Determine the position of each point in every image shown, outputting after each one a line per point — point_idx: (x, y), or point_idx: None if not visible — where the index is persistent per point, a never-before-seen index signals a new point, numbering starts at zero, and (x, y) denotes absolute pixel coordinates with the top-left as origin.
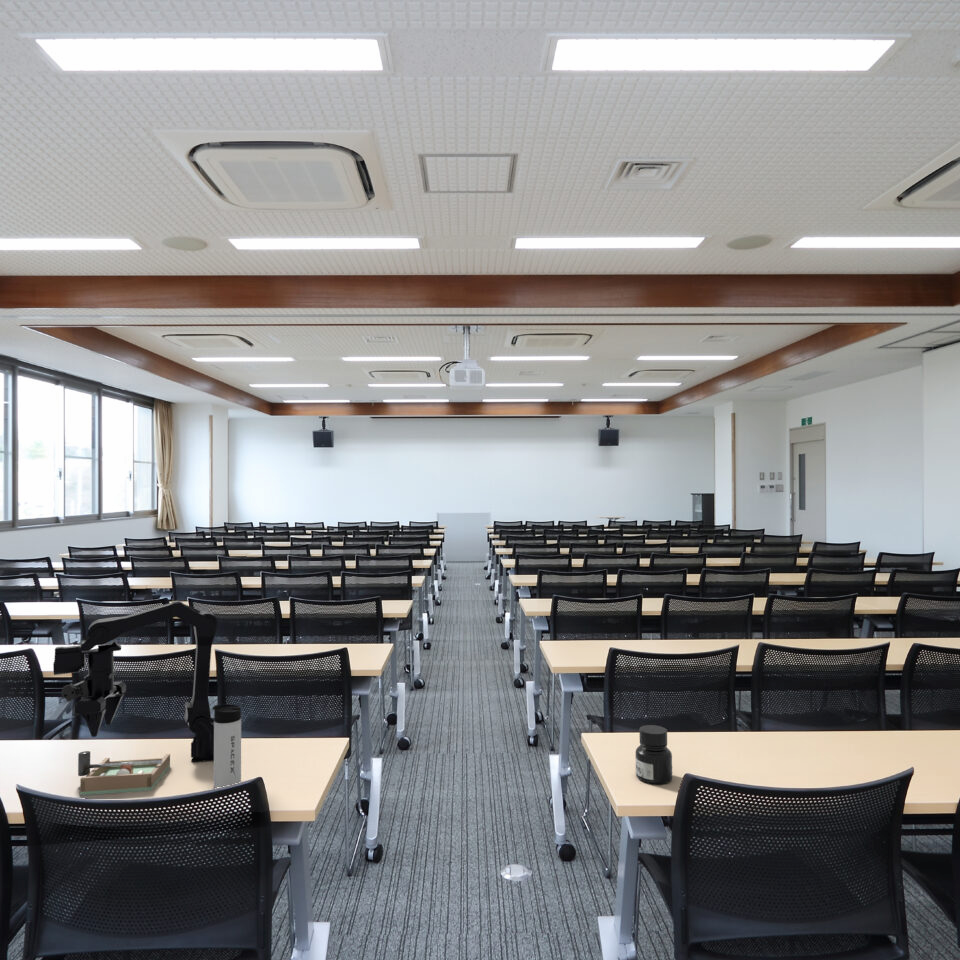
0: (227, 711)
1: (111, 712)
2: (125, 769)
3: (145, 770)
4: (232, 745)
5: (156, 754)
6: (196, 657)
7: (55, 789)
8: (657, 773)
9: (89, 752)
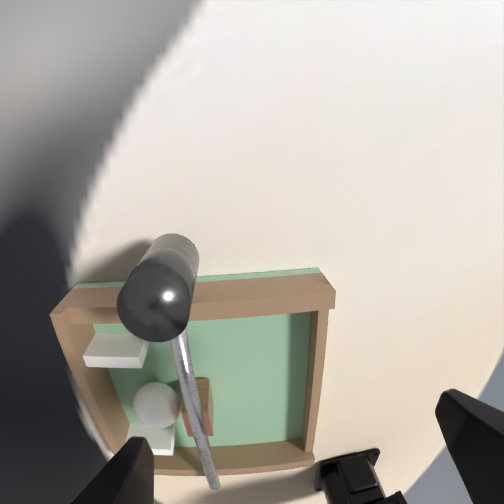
0: None
1: (477, 479)
2: (156, 427)
3: (260, 414)
4: None
5: (422, 362)
6: None
7: (129, 149)
8: None
9: (160, 339)
